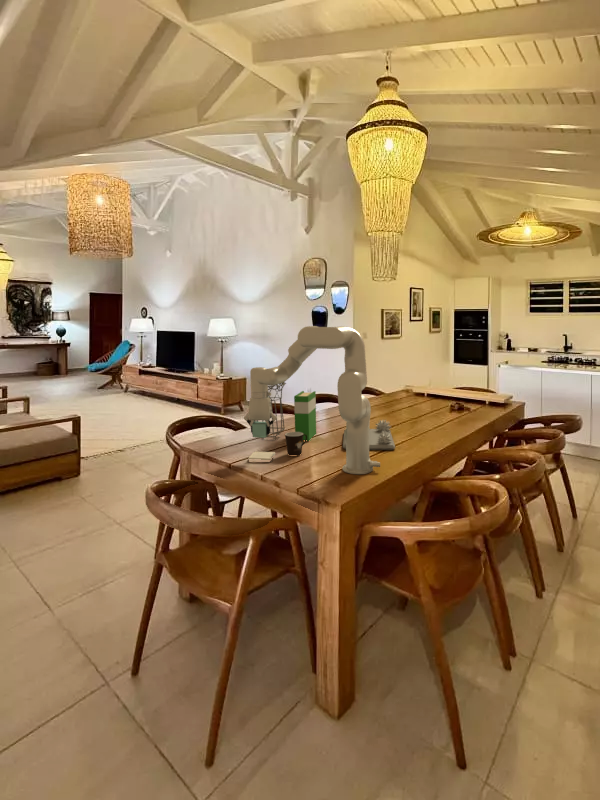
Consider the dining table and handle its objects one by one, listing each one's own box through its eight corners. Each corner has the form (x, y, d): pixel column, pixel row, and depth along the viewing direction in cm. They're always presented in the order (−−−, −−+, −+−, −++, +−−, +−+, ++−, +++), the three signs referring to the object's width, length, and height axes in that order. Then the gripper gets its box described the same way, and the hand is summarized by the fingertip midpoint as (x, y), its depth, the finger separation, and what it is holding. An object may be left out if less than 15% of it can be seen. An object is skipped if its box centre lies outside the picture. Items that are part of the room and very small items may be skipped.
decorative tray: (344, 433, 253) (344, 416, 251) (391, 434, 250) (391, 416, 248) (342, 451, 219) (342, 431, 217) (397, 451, 216) (397, 431, 214)
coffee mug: (288, 458, 208) (287, 437, 206) (283, 453, 216) (282, 432, 215) (312, 455, 211) (311, 434, 209) (306, 450, 219) (306, 430, 218)
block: (268, 434, 208) (268, 421, 207) (265, 437, 202) (265, 424, 201) (256, 434, 209) (255, 421, 208) (252, 437, 203) (252, 424, 202)
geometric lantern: (251, 441, 240) (248, 375, 235) (263, 435, 254) (260, 372, 249) (279, 442, 235) (276, 375, 230) (289, 436, 249) (287, 372, 244)
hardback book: (303, 433, 254) (302, 391, 250) (316, 433, 252) (315, 391, 248) (295, 441, 237) (294, 396, 233) (309, 441, 236) (308, 396, 232)
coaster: (275, 456, 212) (275, 452, 211) (270, 462, 202) (270, 458, 201) (254, 455, 213) (254, 451, 213) (248, 462, 204) (248, 457, 203)
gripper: (280, 394, 205) (281, 432, 208) (243, 393, 208) (244, 431, 211) (276, 396, 197) (277, 436, 201) (238, 396, 200) (240, 435, 203)
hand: (260, 433), depth 206 cm, fingers closed on block, 6 cm apart
